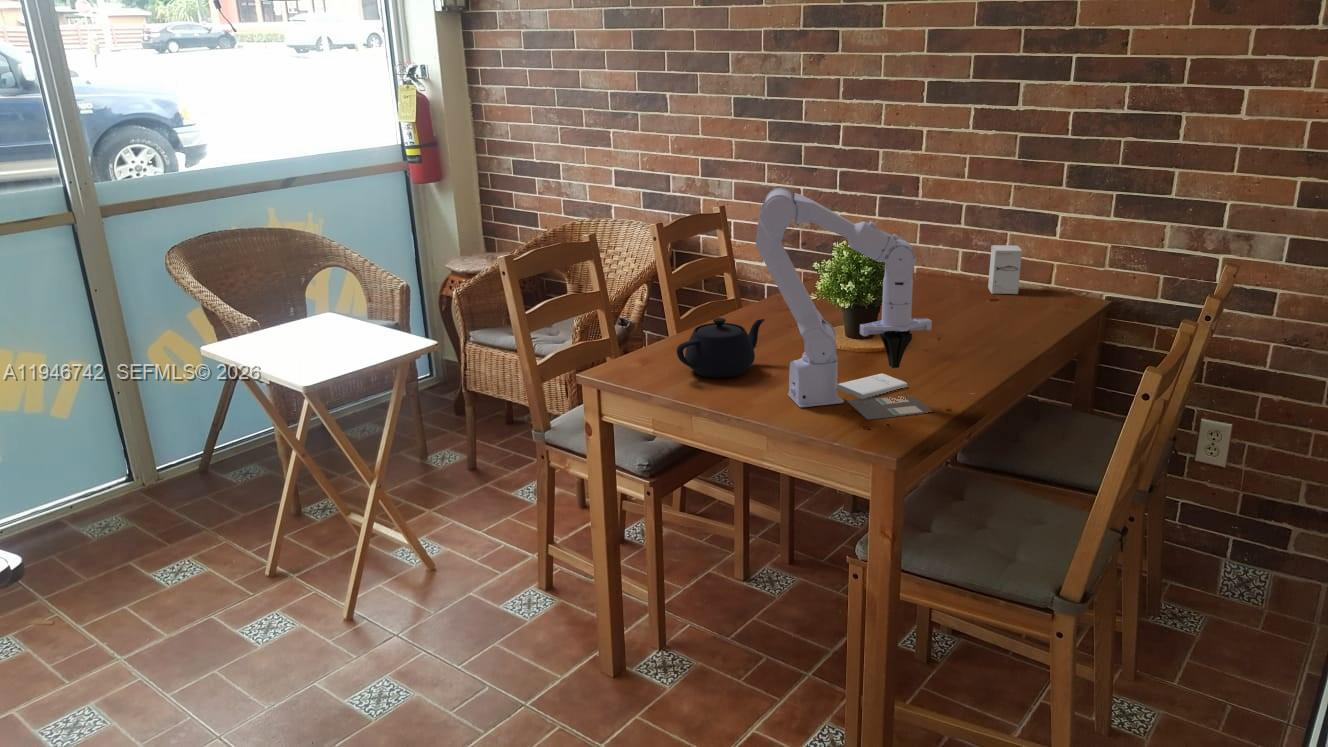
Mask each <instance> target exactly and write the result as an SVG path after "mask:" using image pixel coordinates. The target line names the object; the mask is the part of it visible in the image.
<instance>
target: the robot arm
mask: <svg viewBox="0 0 1328 747" xmlns="http://www.w3.org/2000/svg"><path fill="white" fill-rule="evenodd" d="M758 214H759V215H758V222H757V227H756V230H757V231H756V238H755V239H756V240H755V246H756V250H758V253H759V255H760V256H761V257H760V258H762V260H763V262H764V264H765V266H766V268H767V270H768V271H769V273H770V275H771V277H772V279H773V281H774V283H775V285H776V286H777V289H778V290H779V293H780V294H781V295H782V298H783V299H784V301H785V303H786V305H787V307H788V309H789V311H790V312H791V314H792V316H793V318H794V320H795V322H796V324H797V327H798V330H799V333H800V335H801V337H802V339H803V342H804V352H803V353H802V355H801V357H800V358H799V359H795V360H791V361H790V363H789V368H788V369H789V371H788V373H789V374H788V375H789V376H788V377H789V378H788V393H787V396H788V397H790V399H791V400H792V401H793V402H794V403H795V405H797V406H798V407H799V408H808V407H818V406H819V407H820V406H829V405H837V404H838V405H839V404H844V402H845V401H844V399H843V398H841V397H840V396H839V394H838V389H837V384H838V363H839V362H838V361H839V360H838V358H839V355H838V354H837V353H836V352H837V342H836V336H837V335H836V331H835V330H836V329H835V328H834V327H833V325H832V324H831V323H829V322H827V321H826V320H825V319H824V317H823V315H822V314H821V313H820V311H819V310H818V309H817V307H816V305H815V303H814V301H813V300H812V298H811V296H810V293H809V292H808V291H807V288H806V287H805V285H804V283H803V280H802V279H801V277H800V275H799V273H798V271H797V269H796V268H795V266H794V263H793V262H792V260H791V259H790V256H789V255H788V252H787V250H786V249H785V247H784V246H783V243H782V240H783V237H784V234H785V231H786V229H787V228H788V227H789V226H790V225H791V223H792V222H793V221H794V219H795V224H796V225H800V224H805V223H813V224H815V225H816V226H819V227H821V228H823V229H826V230H828V231H830V232H832V233H835V234H836V235H839V236H840V237H843V238H845V239H847V243H848V246H849V248H850V249H852V250H854V251H856V252H858V253H860V254H862V255H864V256H866V257H868V258H869V259H871V260H874V261H875V262H878V263H883V264H885V266H884V276H883V280H882V303H881V320H877V321H872V322H868V323H861V324H859V334H860V335H861V336H863V337H868V336H870V335H879V337H880V339H881V341H882V343H883V346H884V349H885V352H886V357H887V362H888V366H889V367H891V368H892V369H897V368H898V369H899V368H900V366H901V362H902V359H903V356H904V354H905V351H906V350H907V348H908V345H909V344H910V343H911V341H912V340H913V333H911V331H913V332H914V331H924V330H925V331H931V330H932V325H933V321H932V320H931V319H929V318H912V310H913V308H912V307H913V286H914V279H913V274H914V270H913V269H914V268H915V266H916V263H917V258H916V255H915V251H914V249H913V247H912V245H911V244H910V243H909V242H908V241H907V240H905V238H903V237H899V236H898V234H895V233H892V235H891V234H890V233H887V232H886V231H884V230H882V229H880V228H878V227H877V223H876V222H874V221H871V220H870V221H869V222H867V221H860V222H856V223H854V222H852V221H851V220H849V219H847V218H845V217H843V216H841V215H839V214H838V213H836V212H834V211H833V210H831V209H830V208H827V207H826V206H823V205H822V204H820V203H819V202H817V201H814V200H812V199H811V198H808V197H806V196H804V195H803V194H800V193H797V192H794V193H793V192H792V191H791V190H789V189H788V188H785V187H777V188H773V189H772V190H770V191H769V192H768V193H767V195H766V196H765V198H764V200H763V202H762V204H761V206H760V210H759V213H758Z"/></svg>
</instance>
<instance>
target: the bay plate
mask: <svg viewBox="0 0 1328 747" xmlns="http://www.w3.org/2000/svg"><path fill="white" fill-rule="evenodd" d="M908 394H909V395H910V394H911V393H908ZM897 395H898V398H899V397H900V396H899V395H900V394H897ZM888 396H889V399H888V397H887V398H886V397H885V396H874V397H869V398H865V399H861V398H857V399H849V400H846V402H847V403H848V404H849V405H850V406H851V407H853V408H854V410H855V411H857V412H858V413H859V414H860V415H861V416H862V417H864V418H865V419H866V420H868V421H871V420H878V419H888V418H895V417H897V416H898V417H906V415H908V416H914V415H915V414H917V415H925V414H924V413H926V414H929V413H928V412H932V411H933V410H932V411H929V410H931V409H930V408H929V407H928V406H926V405H925V404H924V403H923V402H922V401H920V400H919V399H917V398H916V397H915V398H911V397H904V396H901V397H900V399H896V398H892V397H890V396H891V395H888ZM911 396H913V395H912V394H911ZM902 397H903V399H904V398H905V400H903V399H901V398H902ZM890 398H892V399H891V400H893V399H894V401H891V400H890ZM906 398H907V400H906ZM908 399H909V400H908ZM895 400H896V401H898V402H895ZM903 402H904V403H903ZM906 402H907V403H906ZM892 403H893V404H892ZM894 403H895V404H894ZM896 404H898V405H896ZM899 404H900V405H899ZM890 405H891V406H890ZM892 406H893V407H892ZM926 408H927V409H926ZM928 409H929V410H928ZM922 410H923V411H922ZM924 411H925V412H924ZM926 411H927V412H926ZM920 412H921V413H920Z"/></svg>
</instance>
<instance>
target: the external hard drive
mask: <svg viewBox="0 0 1328 747" xmlns="http://www.w3.org/2000/svg"><path fill="white" fill-rule="evenodd" d="M904 387H907V388H908V383H907V382H906V381H904V380H901V379H899V378H895V377H893V376H892V375H891V376H890V375H888V374H885V373H878V374H874V375H869V376H865V377H862V378H858V379H854V380H853V379H852V380H849V381H845V382H840V383H837V388H838V389H837V390H840V391H842V390H843V392H844V391H845V392H844V393H847V394H849V395H851V394H852V395H851V396H854V397H856V398H857V399H866V398H868V397H869V398H873V397H876V396H875V395H877V396H880V395H879V394H881V395H883V393H884V394H887V393H886V392H888V393H890V392H889V391H892V390H896V389H900V388H903V389H905V388H904ZM900 390H901V389H900ZM896 391H897V390H896ZM892 392H893V391H892ZM872 396H873V397H872Z"/></svg>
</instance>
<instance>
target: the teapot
mask: <svg viewBox="0 0 1328 747" xmlns="http://www.w3.org/2000/svg"><path fill="white" fill-rule="evenodd" d="M712 321H713V322H711V323H707V324H706V323H705V324H701V325H698V326H696V327H695V328H694V329H693V331H692V333H691V336H690V337H689V339H688V341H685V342H682V343H680V344H679V345H678V346H677V348H676V354H677V358H678V359H679V361H680V362H681V363H682V364H684V365H685V366H687V367H689V368H690V369H691V370H692V371H693V372H695V374H697V375H699V376H701V377H706V378H711V379H712V378H713V379H724V378H726V379H727V378H733V377H736V376H737V377H738V376H741V375H742V374H744V373H745V372H746V370H748V369H749V368H750V367H751V366H752V365H753V364H754V362H755V358H756V357H755V355H756V354H755V348H756V346H757V343H758V336H759V330H760V327H761V325H762V324H763V323H764V321H766V319H765V318H761V319H757V320H755V321H754V322H753V324H752V325H751V328H750V331H749V332H748V333H747V330H746V329H745V328H744V327H743V326H742V325H739V324H735V323H730V322H729V323H728V322H726V321H727V320H726V319H725V317H724V318H723V317H716V318H713V319H712ZM684 350H685V352H684Z"/></svg>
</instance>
